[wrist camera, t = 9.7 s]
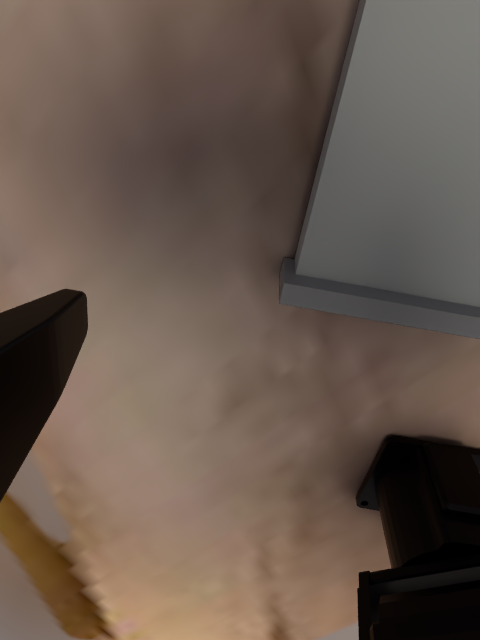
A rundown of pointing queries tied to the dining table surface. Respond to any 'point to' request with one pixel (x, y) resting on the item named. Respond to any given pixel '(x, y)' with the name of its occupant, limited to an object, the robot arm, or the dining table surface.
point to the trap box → (399, 175)
